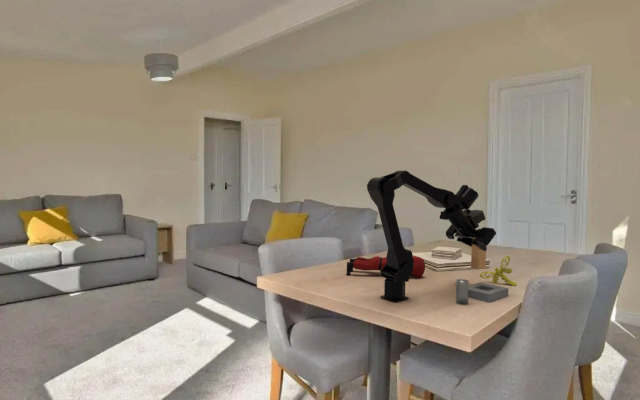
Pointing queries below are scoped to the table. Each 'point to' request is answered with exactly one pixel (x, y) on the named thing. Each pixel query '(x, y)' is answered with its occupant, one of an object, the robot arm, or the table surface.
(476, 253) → the square bit
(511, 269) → the decorative insect
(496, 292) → the socket plate
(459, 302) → the round bit
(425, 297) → the table surface
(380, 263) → the toy
